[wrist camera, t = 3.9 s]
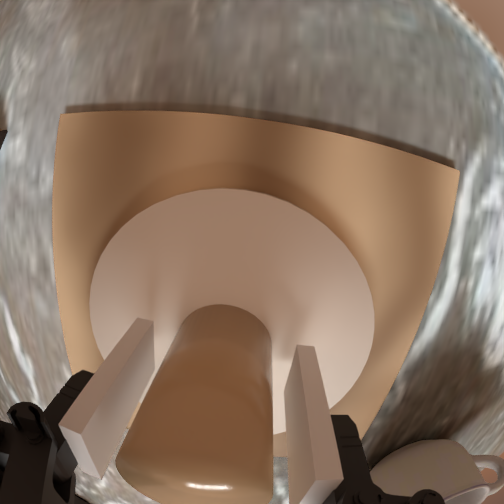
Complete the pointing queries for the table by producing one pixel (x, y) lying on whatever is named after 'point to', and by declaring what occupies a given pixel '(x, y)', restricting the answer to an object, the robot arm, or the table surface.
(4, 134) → the hardcover book
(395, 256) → the mat
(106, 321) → the lid
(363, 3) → the table surface
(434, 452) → the teacup
